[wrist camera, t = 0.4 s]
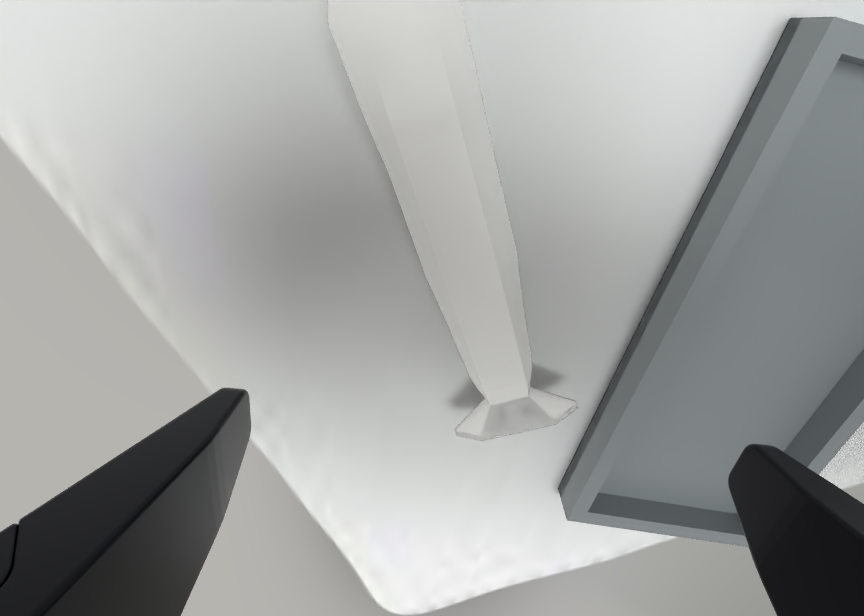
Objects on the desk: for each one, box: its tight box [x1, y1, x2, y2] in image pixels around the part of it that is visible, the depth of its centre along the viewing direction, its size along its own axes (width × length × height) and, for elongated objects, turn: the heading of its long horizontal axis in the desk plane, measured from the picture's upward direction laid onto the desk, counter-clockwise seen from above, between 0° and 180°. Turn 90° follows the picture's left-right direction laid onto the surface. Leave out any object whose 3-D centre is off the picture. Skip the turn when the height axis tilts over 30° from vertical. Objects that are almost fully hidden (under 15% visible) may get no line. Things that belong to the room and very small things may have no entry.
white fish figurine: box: [328, 0, 578, 441], centre depth 18 cm, size 6×18×4 cm, turn 17°
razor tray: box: [558, 17, 864, 547], centre depth 21 cm, size 11×23×2 cm, turn 168°
